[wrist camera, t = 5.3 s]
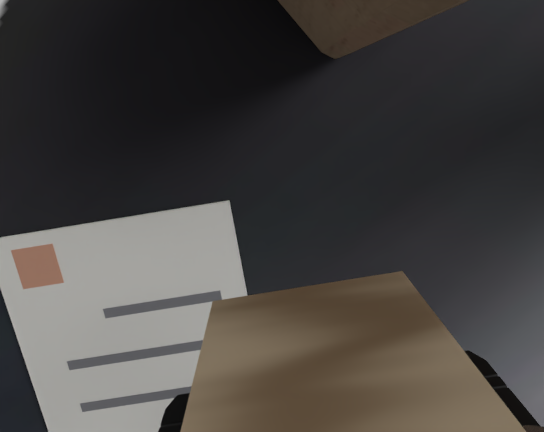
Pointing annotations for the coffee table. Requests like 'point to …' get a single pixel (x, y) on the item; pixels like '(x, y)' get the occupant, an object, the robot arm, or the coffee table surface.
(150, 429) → the letter
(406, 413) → the oak block
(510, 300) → the coffee table surface
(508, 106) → the coffee table surface
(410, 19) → the wooden block
